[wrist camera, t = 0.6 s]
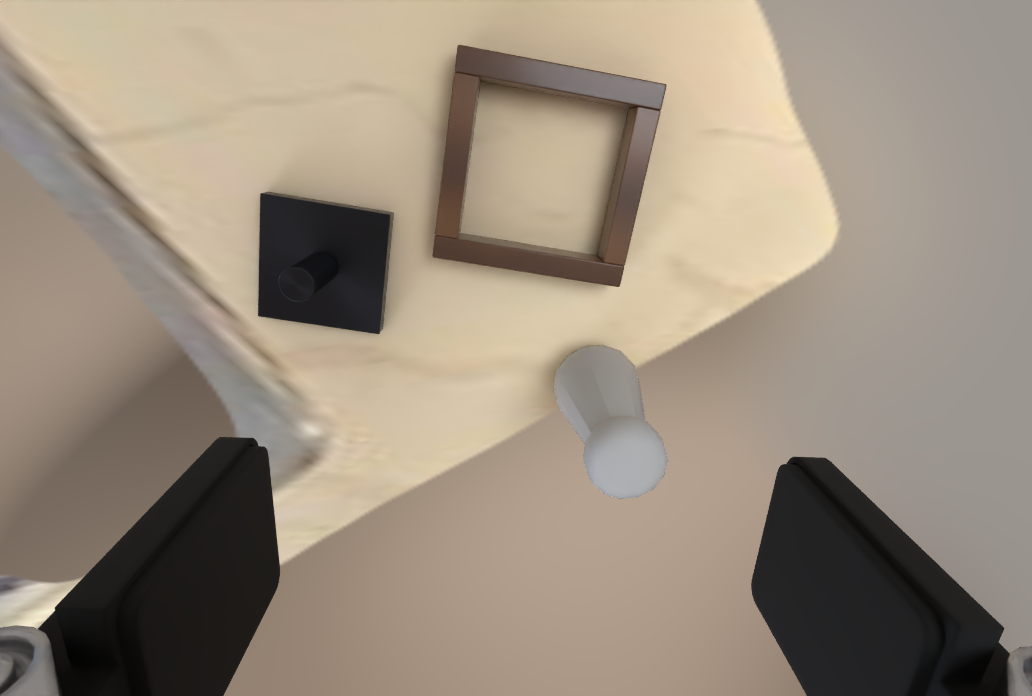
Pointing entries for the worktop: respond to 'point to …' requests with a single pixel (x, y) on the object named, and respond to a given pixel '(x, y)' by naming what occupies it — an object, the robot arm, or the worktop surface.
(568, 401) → the salt shaker
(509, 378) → the worktop surface
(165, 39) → the worktop surface
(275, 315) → the peg stand
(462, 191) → the walnut frame
